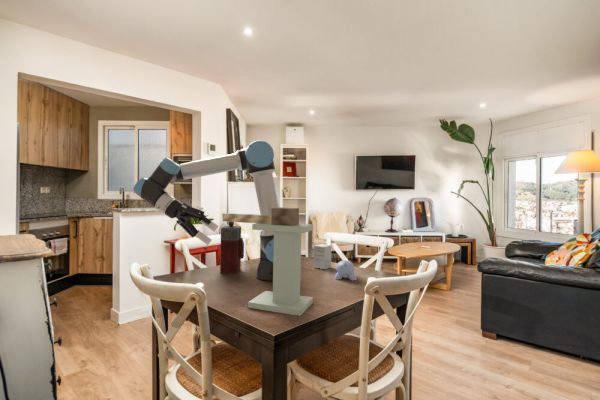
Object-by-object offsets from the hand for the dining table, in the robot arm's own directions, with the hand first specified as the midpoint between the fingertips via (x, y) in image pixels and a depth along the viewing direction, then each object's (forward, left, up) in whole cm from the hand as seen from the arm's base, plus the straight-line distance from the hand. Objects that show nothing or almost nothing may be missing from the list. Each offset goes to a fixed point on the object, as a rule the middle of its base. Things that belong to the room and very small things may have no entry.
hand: (213, 235), depth 130 cm
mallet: (+22, +3, +7) cm, 24 cm away
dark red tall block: (-18, +28, -23) cm, 40 cm away
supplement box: (+14, +65, -23) cm, 70 cm away
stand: (+32, +5, -23) cm, 40 cm away
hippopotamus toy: (+34, +55, -23) cm, 69 cm away
